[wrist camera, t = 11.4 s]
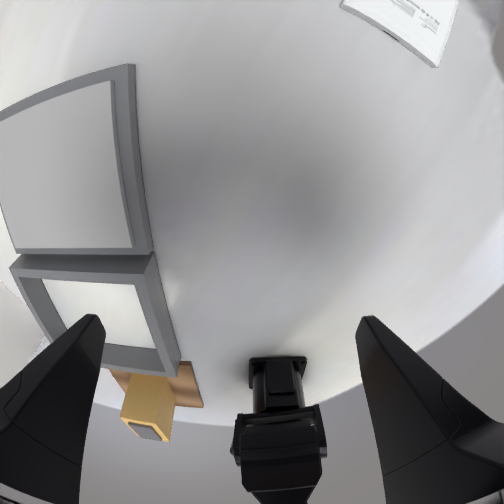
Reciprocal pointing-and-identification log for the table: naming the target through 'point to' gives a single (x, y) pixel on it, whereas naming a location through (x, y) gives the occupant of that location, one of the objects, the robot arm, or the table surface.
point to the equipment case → (83, 205)
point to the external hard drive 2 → (410, 23)
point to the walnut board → (173, 385)
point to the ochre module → (149, 407)
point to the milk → (16, 334)
